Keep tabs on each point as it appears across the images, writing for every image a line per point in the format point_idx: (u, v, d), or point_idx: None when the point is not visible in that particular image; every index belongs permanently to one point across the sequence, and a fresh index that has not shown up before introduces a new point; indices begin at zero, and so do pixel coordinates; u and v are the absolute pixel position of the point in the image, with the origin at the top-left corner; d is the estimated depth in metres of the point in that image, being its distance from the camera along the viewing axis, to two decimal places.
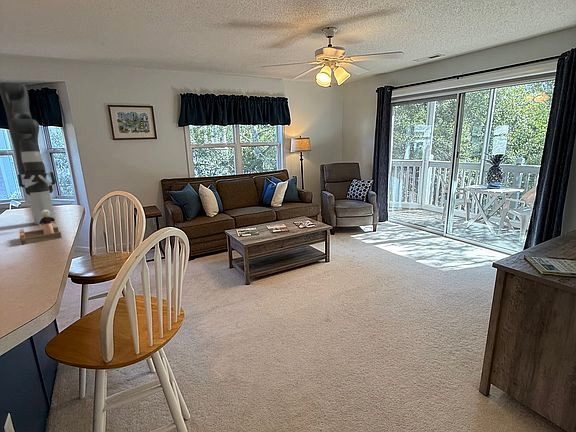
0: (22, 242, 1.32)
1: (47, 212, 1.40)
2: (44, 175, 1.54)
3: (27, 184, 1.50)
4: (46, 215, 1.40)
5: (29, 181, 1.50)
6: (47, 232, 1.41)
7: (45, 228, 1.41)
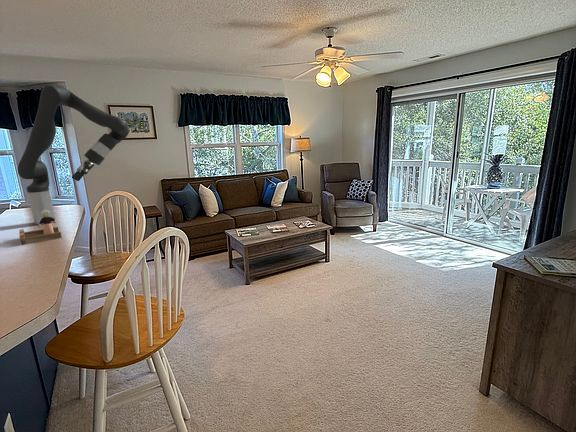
0: (22, 242, 1.32)
1: (47, 212, 1.40)
2: None
3: None
4: (46, 215, 1.40)
5: (88, 171, 1.46)
6: (47, 232, 1.41)
7: (45, 228, 1.41)
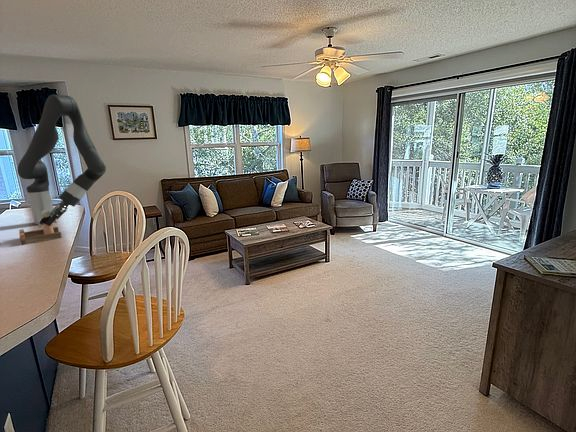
0: (22, 242, 1.32)
1: (47, 212, 1.40)
2: None
3: None
4: (46, 215, 1.40)
5: None
6: (47, 232, 1.41)
7: (45, 228, 1.41)
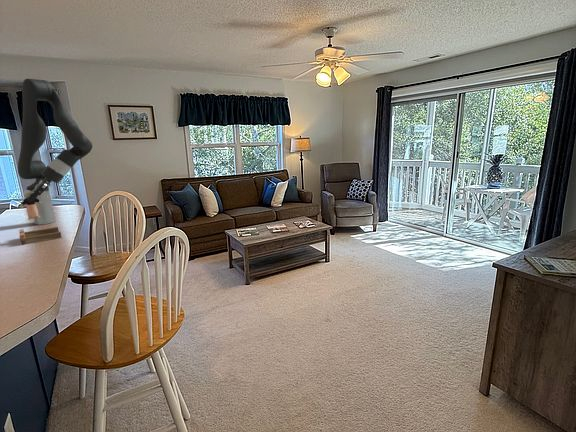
0: (22, 242, 1.32)
1: (30, 193, 1.35)
2: None
3: None
4: (28, 196, 1.35)
5: None
6: (30, 213, 1.37)
7: (28, 209, 1.36)
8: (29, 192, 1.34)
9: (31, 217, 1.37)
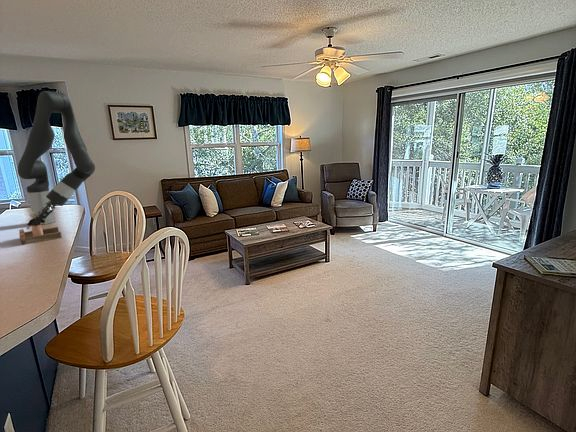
0: (22, 242, 1.32)
1: (36, 214, 1.37)
2: None
3: None
4: (34, 217, 1.37)
5: None
6: (36, 234, 1.39)
7: (34, 230, 1.38)
8: (35, 213, 1.37)
9: None
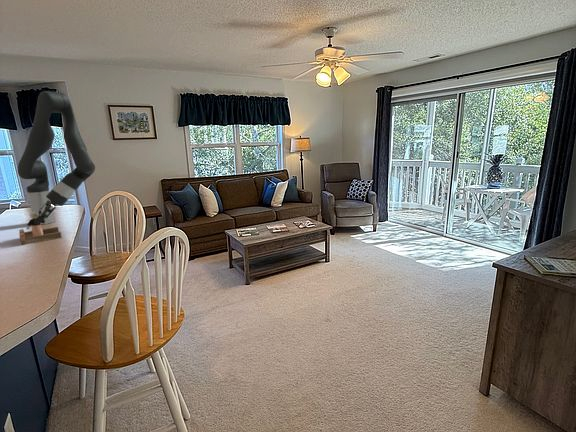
0: (22, 242, 1.32)
1: (35, 214, 1.38)
2: None
3: None
4: (34, 217, 1.37)
5: None
6: (36, 234, 1.39)
7: (34, 230, 1.38)
8: (35, 213, 1.37)
9: None
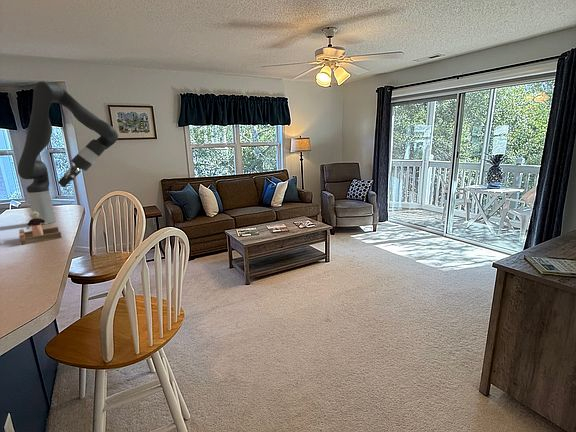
0: (22, 242, 1.32)
1: (36, 214, 1.38)
2: None
3: None
4: (34, 217, 1.37)
5: None
6: (36, 234, 1.39)
7: (34, 230, 1.38)
8: (35, 213, 1.37)
9: None
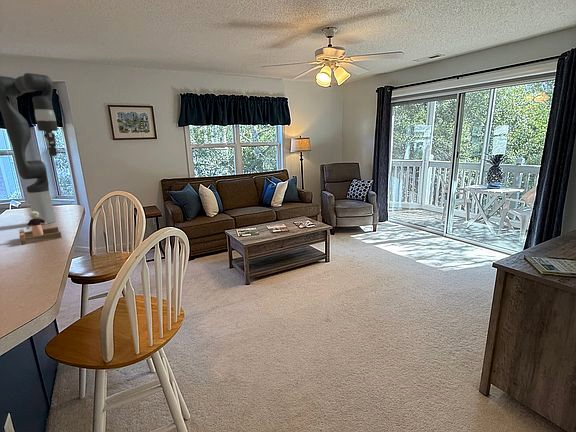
0: (22, 242, 1.32)
1: (36, 214, 1.38)
2: None
3: None
4: (34, 217, 1.37)
5: (55, 141, 1.45)
6: (36, 234, 1.39)
7: (34, 230, 1.38)
8: (35, 213, 1.37)
9: None
